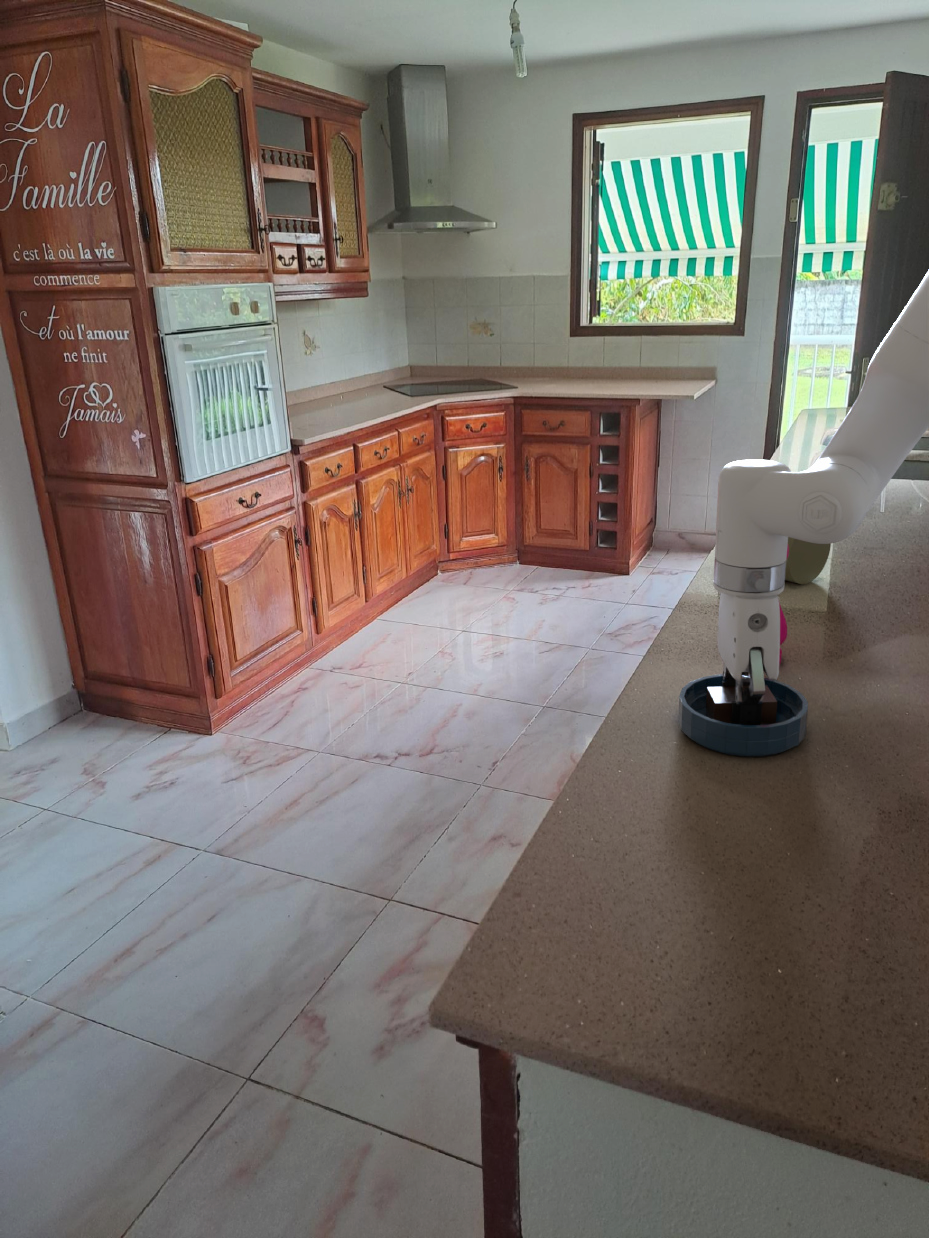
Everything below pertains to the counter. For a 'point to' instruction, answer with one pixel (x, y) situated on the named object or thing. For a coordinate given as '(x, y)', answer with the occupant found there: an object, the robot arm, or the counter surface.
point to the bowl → (743, 737)
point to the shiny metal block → (723, 697)
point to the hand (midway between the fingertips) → (739, 720)
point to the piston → (805, 560)
